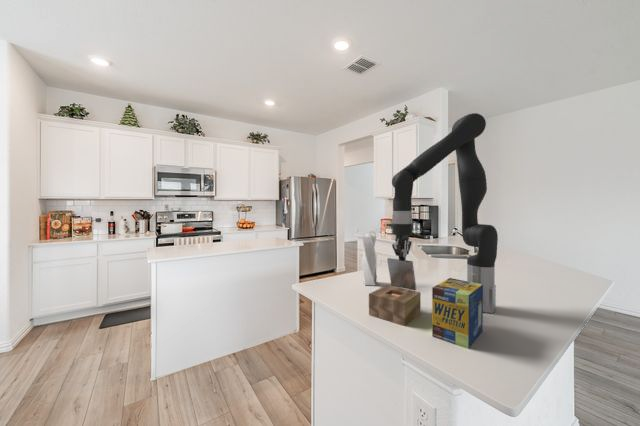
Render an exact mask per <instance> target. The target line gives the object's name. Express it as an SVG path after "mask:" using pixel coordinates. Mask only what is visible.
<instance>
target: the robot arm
mask: <svg viewBox="0 0 640 426" xmlns="http://www.w3.org/2000/svg"><path fill="white" fill-rule="evenodd" d="M486 125H487V121H486V119H485V117H484V116H483V115H482V114H480V113H477V112H476V113H473V112H472V113H469V114H468V113H467V114H466V115H464V116H462V117H460V118H459V119H457V120H456V121H455V122H454V123H453V125H452V128H451V131H450V132H449V133H448V134H447V135H446V136H445V137H443V138H441V140H439V141H437V142H436V143H434V144H433V145H432V146H430V147H428V148H427V149H426V150H424V151H423V152H422V153H421V154H419V155H418V156H417V157H416V158H414V159H413V160H412V161H411V162H410V163H409V164H408V165H407V166H405V167H404V168H403V169H401V170H400V171H398V172H397V173H396V174H394V175H393V176H392V179H391V185H392V187H393V188H394V197H393V199H392V217H391V218H392V219H391V221H392V222H391V223H392V225H391V226H392V227H391V228H392V229H391V230H392V235H395V239H394V240H395V242H394V243H392V245H391V246H392V249H393V252H394V254H395V256H397V257H398V259H400V260H407V259H406V258H407V255H409V253H410V249H411V246H412V244H413V241H411V240H410V237H409V236H411V235H412V234H413V213H412V207H413V205H412V198H413V196H412V195H413V190H414V189H413V188H414V182H415V181H417V180H418V179H419V178H421V177H422V176H424V175H426V174H427V173H428V172H430V171H431V170H432V169H433V168H434V167H435V166H437V165H438V164H439V163H441V162H442V161H443V160H444V159H445V158H447V157H448V156H449V155H450V154H452V153H453V152H454V151H455V154H456V165H457V175H458V187H459V193H460V194H459V195H460V203H461V206H460V207H461V237H462V239H463V240H462V241H463V243H464V244H465V245H466V246H469V247H473V248H478V249H477V253H476V254H474V255H469V256H467V258H466V269H467V270H466V281H468V282H473V283H479V284H483V313H488V314H493V313H495V310H496V309H497V305H496V302H497V300H496V296H497V294H496V292H497V291H496V290H497V289H496V288H497V285H496V283H495V276H496V275H495V271H496V270H495V268H496V267H495V265H496V260H497V255H498V242H499V241H498V240H499V239H498V236H499V235H498V231H497V229H496V227H495V226H494V225H492V224H483V223H479V221H478V220H479V219H478V213H479V209H480V206H481V203H483V200H484V198H485V196H486V194H487V190H488V187H487V184H488V183H487V178H486V177H487V175H486V171H485V169H484V166H483V163H482V162H481V161H480V159H479V157H478V153H477V151H476V141H475V140H476V139H477V138H478V137H480V136H481V135H482V134H483V133H484V131H485V129H486V128H487V127H486Z"/></svg>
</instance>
